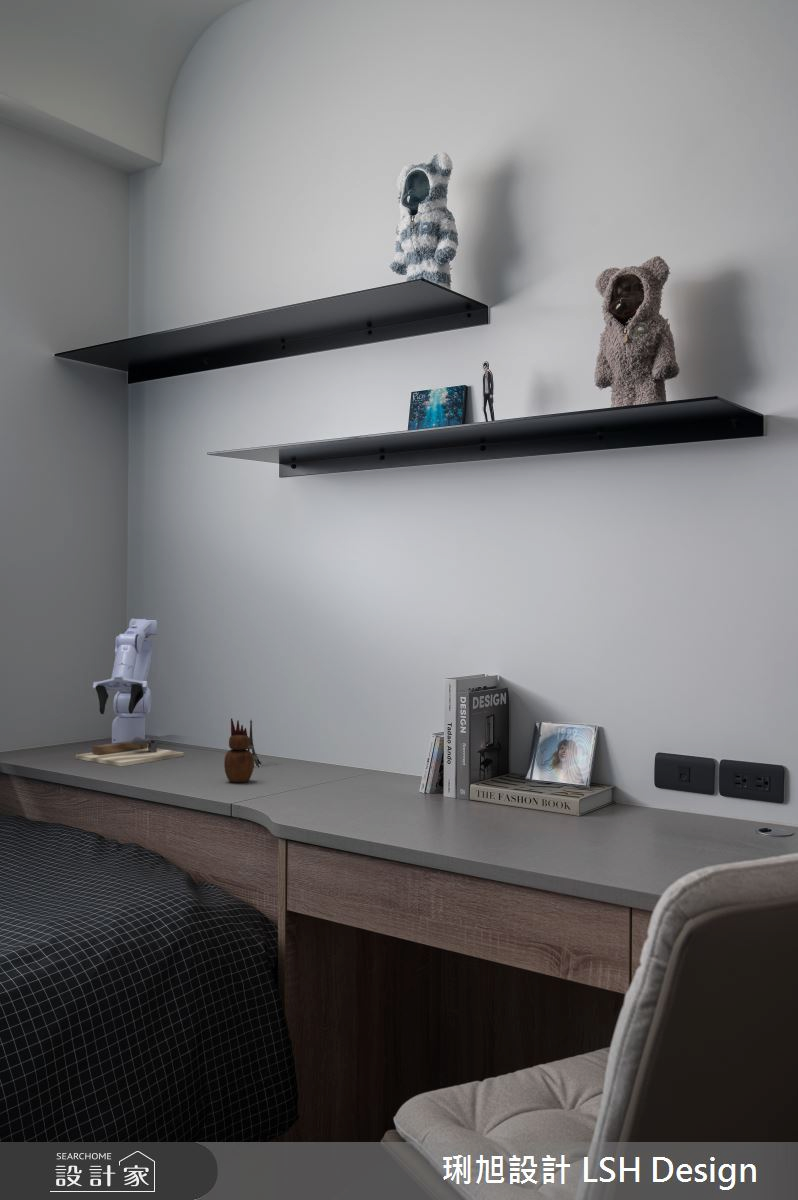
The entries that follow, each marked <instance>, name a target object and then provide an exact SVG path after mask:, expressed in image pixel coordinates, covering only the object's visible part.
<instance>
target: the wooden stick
mask: <svg viewBox="0 0 798 1200" xmlns="http://www.w3.org/2000/svg"><path fill="white" fill-rule="evenodd" d="M135 739H142V737H135ZM147 744H148V743H146V744H134V743H132V741H126V742H119V743H112V742H111V743H105V744H98V745H97V744H96V745H93V746H92V753H93V754H99V755H101V754H108V753H114V752H121V751H128V750H135V749H142V748H147Z"/></svg>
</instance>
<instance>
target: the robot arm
mask: <svg viewBox="0 0 798 1200" xmlns="http://www.w3.org/2000/svg"><path fill="white" fill-rule="evenodd" d="M146 619H147V618H134V617H133V618H131V619H130V620H129V624H128V628H127V629H126V631H125V632H124V633H119V635H116V637H115V642H114V643H115V645H114V646H115V647H114V649H115V650H114V656H115V657H114V663H113V667H112V673H111V677H110V678H108V679H105V680H101V681H93V684H92V689H93V692H95V693H96V694H97V697H98V702H99V703H98V704H99V713H100V714H101V715H104V714H105V710H106V704H107V701H108V698H109V697H110V695H109V693H108V691H114V692H116V693H115V695H114V698H113V703H112V706H113V712H114V714H115V715H117V716H115V717H114V718H113V721H112V723H111V744H112V743H119V742H126V741H132V739H135V737H142V739H145V738H146V716H147V715H149V714H150V713H151V712H150V711H151V709H152V692H151V689H150V688H149V683H148V681H147V680H148V676H149V671H150V667H151V663H152V660H151V655H152V641H146V640H144V639H145V638H148V637H149V636H151V635H157V621H156V620H146ZM147 747H148V743H147Z"/></svg>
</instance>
